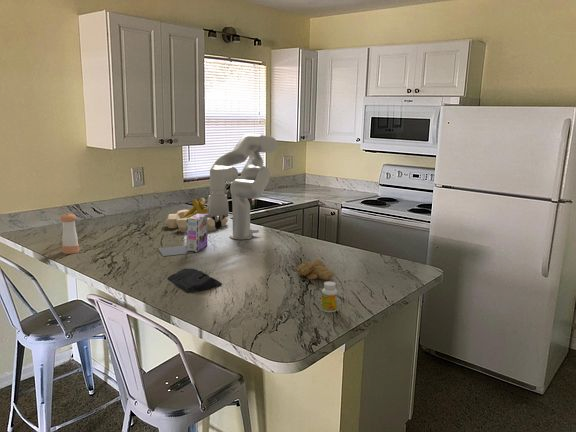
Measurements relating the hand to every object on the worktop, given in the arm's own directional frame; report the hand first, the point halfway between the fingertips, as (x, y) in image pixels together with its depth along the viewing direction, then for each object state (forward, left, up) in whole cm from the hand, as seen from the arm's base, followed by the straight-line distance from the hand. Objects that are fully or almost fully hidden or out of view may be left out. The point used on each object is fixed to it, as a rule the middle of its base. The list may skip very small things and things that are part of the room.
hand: (218, 228), depth 242 cm
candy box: (+11, 0, -9) cm, 14 cm away
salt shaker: (+68, -18, -10) cm, 71 cm away
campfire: (-1, -48, -10) cm, 49 cm away
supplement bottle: (-12, +91, -10) cm, 93 cm away
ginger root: (-23, +59, -10) cm, 64 cm away
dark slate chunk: (+24, +46, -10) cm, 53 cm away
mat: (+22, 0, -9) cm, 24 cm away
